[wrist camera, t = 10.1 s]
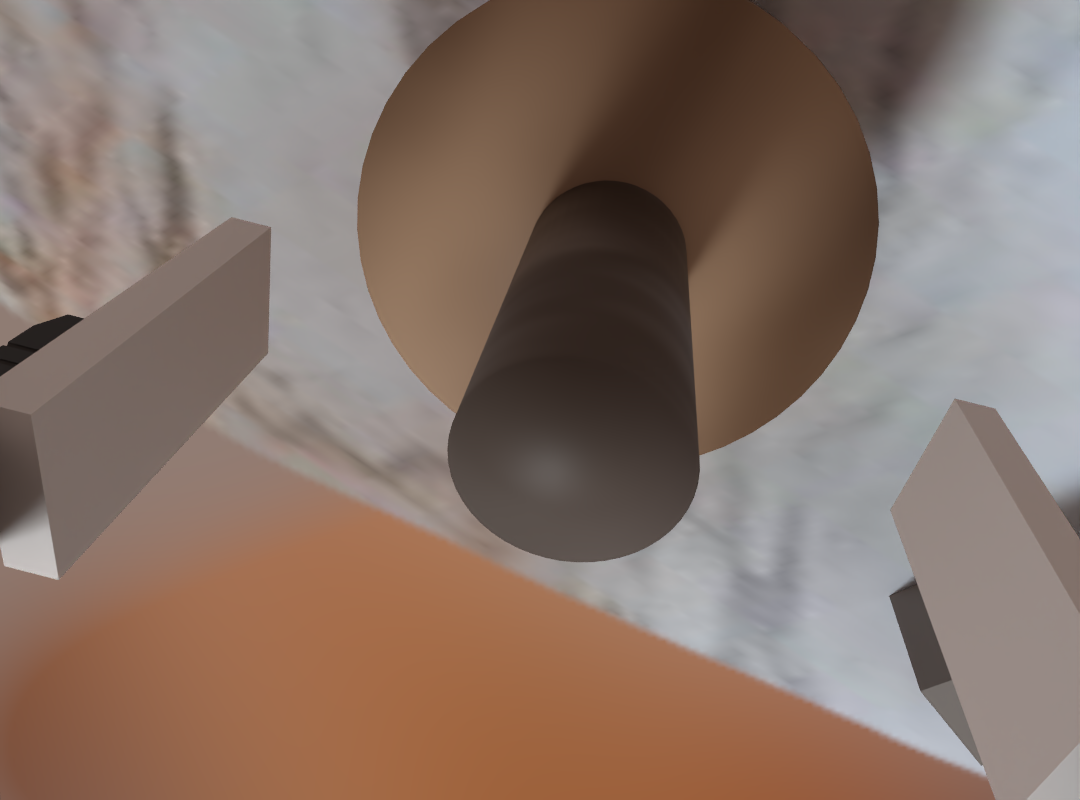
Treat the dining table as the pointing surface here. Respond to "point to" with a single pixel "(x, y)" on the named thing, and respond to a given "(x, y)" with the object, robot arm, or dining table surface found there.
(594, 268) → the lid
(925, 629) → the dice cube
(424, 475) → the dining table surface
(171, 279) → the robot arm
